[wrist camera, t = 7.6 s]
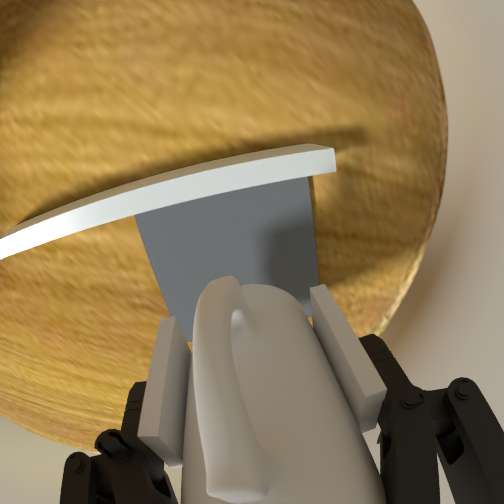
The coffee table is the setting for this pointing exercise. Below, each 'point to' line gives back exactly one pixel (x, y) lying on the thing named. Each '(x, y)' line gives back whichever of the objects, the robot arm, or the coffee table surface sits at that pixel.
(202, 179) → the wall
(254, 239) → the mat
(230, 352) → the mug
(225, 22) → the coffee table surface
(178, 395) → the robot arm
